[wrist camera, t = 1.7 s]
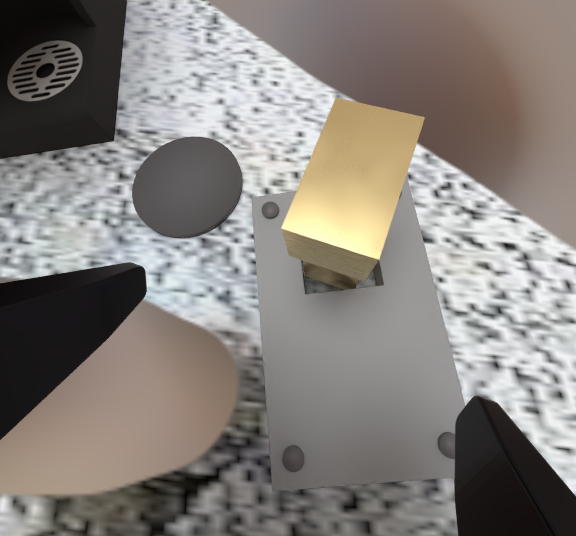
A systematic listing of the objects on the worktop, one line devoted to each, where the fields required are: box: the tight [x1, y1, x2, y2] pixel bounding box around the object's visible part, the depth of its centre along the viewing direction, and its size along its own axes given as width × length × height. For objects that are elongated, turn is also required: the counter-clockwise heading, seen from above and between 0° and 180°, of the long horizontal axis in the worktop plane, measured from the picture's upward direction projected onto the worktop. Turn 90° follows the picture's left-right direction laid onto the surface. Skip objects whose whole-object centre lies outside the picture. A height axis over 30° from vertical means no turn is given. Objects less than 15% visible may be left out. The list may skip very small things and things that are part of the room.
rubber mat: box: [132, 137, 242, 238], centre depth 24 cm, size 9×9×1 cm
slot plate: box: [251, 176, 465, 491], centre depth 19 cm, size 18×11×2 cm, turn 6°
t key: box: [281, 98, 425, 290], centre depth 16 cm, size 6×4×11 cm, turn 159°
